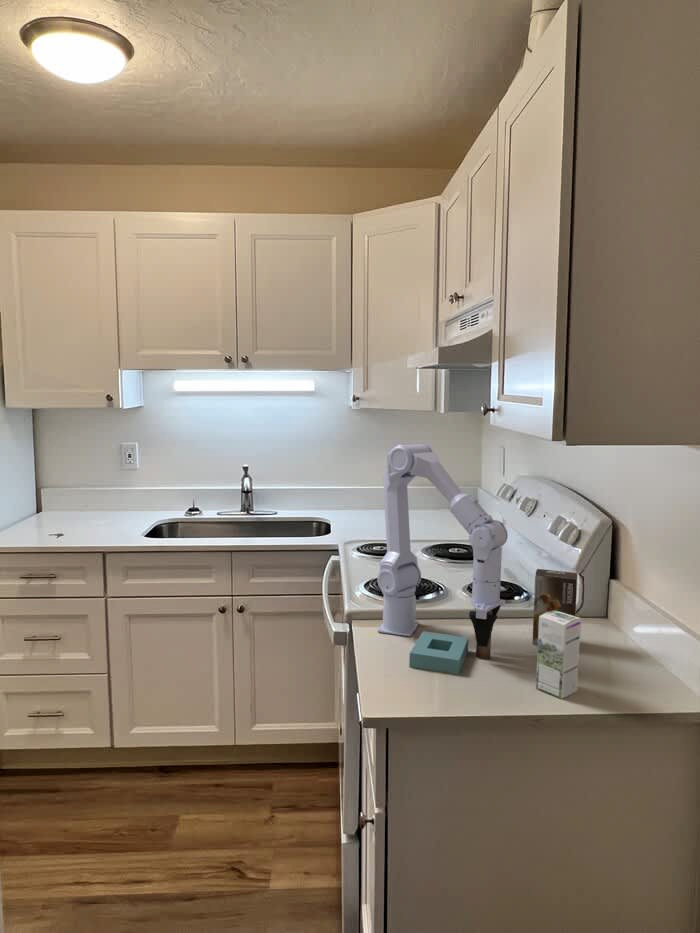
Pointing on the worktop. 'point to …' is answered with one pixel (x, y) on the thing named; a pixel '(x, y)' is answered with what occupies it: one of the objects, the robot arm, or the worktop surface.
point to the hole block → (439, 652)
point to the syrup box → (558, 653)
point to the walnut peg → (484, 648)
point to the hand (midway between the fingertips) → (483, 641)
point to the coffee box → (553, 595)
